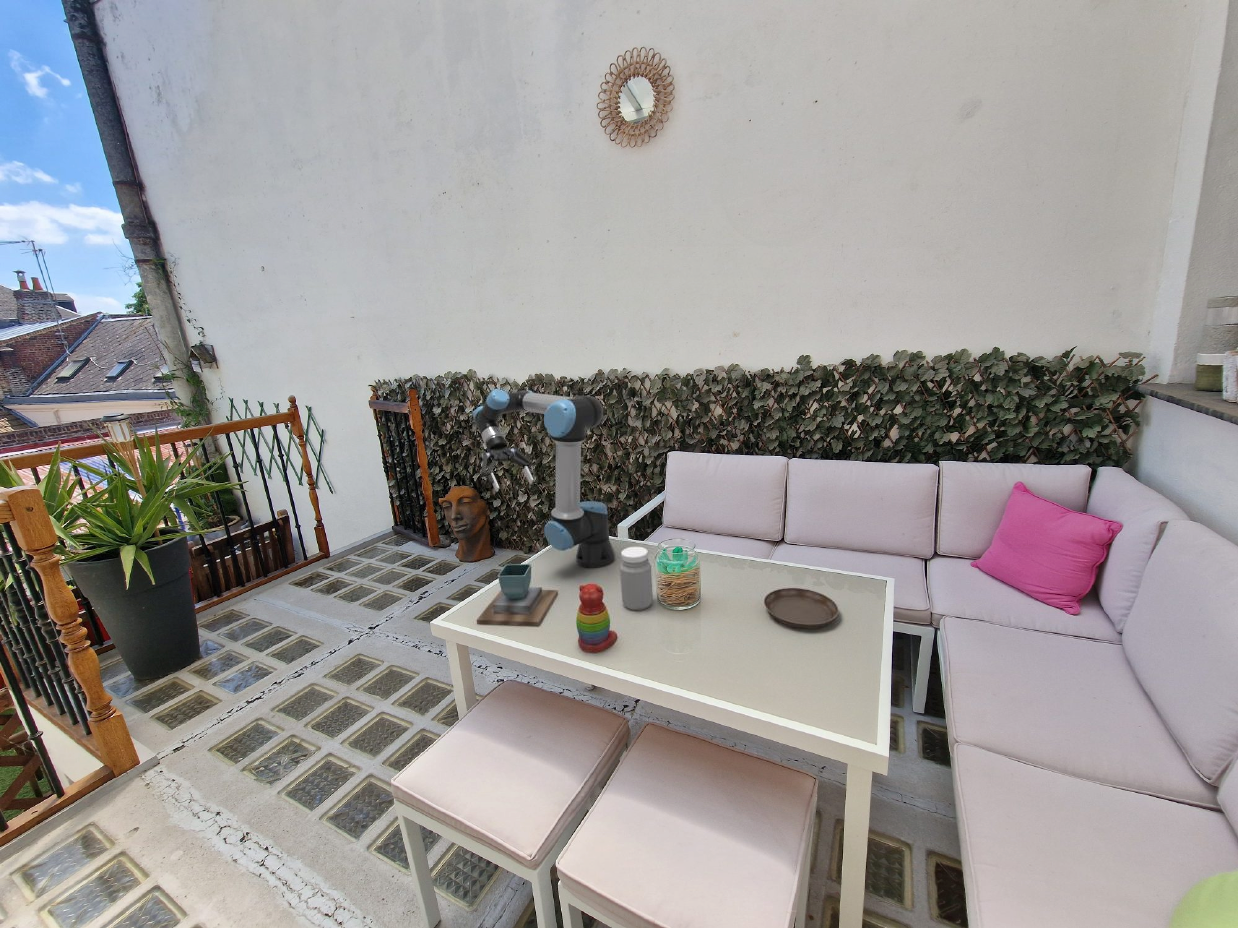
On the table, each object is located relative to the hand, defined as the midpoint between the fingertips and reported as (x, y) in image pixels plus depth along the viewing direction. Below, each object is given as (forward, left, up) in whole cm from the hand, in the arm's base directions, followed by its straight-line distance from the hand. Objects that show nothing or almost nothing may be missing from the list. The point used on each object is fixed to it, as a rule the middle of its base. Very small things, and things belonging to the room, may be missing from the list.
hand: (515, 485), depth 186 cm
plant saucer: (-96, +28, -33) cm, 106 cm away
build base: (-9, +30, -33) cm, 45 cm away
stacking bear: (-38, +47, -33) cm, 69 cm away
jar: (-47, +25, -33) cm, 63 cm away
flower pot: (-9, +30, -28) cm, 42 cm away
